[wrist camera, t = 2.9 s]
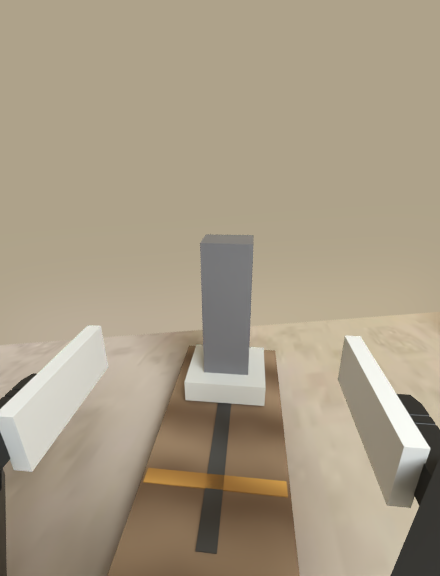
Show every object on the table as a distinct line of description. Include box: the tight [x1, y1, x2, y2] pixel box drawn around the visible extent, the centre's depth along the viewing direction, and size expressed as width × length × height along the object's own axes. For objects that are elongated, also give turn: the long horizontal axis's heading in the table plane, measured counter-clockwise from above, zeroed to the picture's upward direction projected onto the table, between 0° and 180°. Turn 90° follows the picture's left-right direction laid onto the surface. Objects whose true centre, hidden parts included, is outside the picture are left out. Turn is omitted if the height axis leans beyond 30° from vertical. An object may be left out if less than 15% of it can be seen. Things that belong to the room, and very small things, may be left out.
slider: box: [184, 235, 266, 406], centre depth 27 cm, size 6×7×14 cm
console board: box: [107, 346, 299, 576], centre depth 25 cm, size 22×10×2 cm, turn 174°
